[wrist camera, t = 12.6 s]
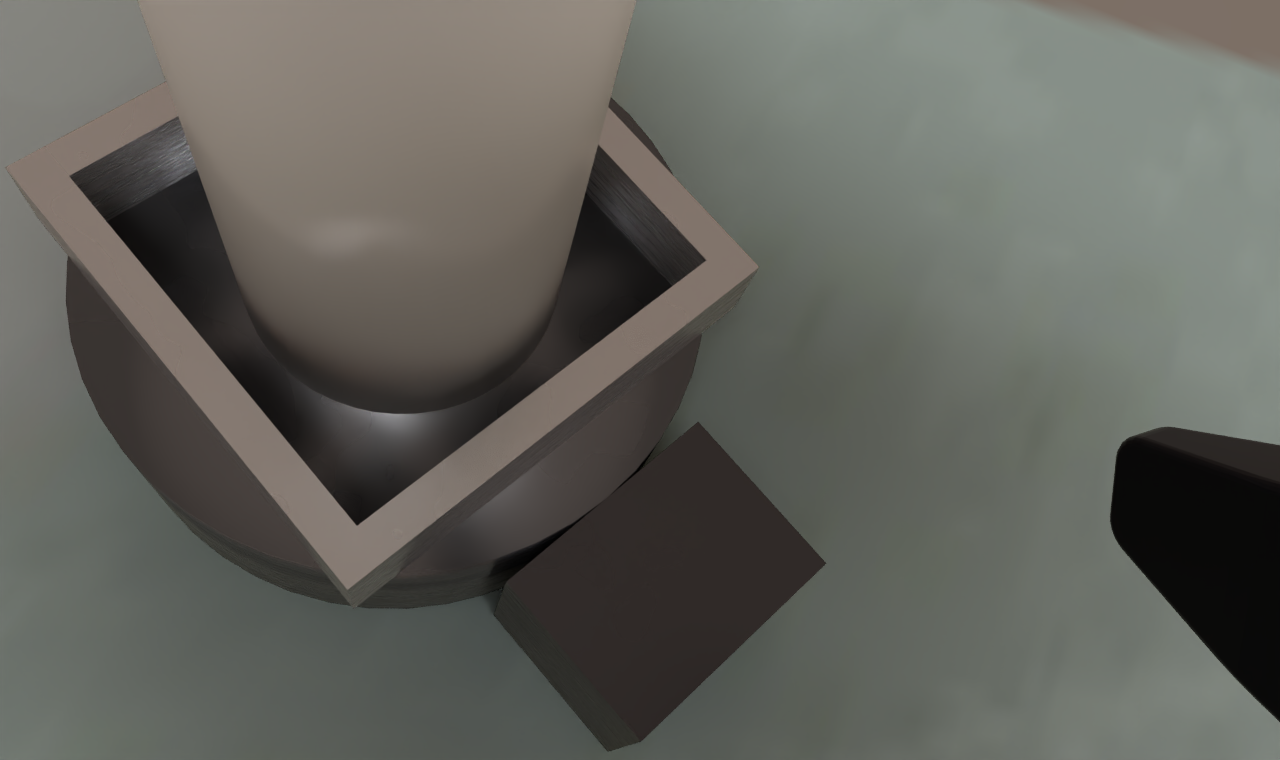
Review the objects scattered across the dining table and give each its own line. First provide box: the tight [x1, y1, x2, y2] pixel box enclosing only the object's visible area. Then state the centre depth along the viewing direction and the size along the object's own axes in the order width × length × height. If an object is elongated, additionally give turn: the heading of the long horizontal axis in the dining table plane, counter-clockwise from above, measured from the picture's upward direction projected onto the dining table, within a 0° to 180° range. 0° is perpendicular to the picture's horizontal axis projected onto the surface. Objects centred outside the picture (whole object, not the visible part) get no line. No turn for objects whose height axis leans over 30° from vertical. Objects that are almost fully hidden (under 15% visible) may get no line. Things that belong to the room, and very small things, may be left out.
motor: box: [5, 82, 826, 752], centre depth 18 cm, size 13×10×4 cm
